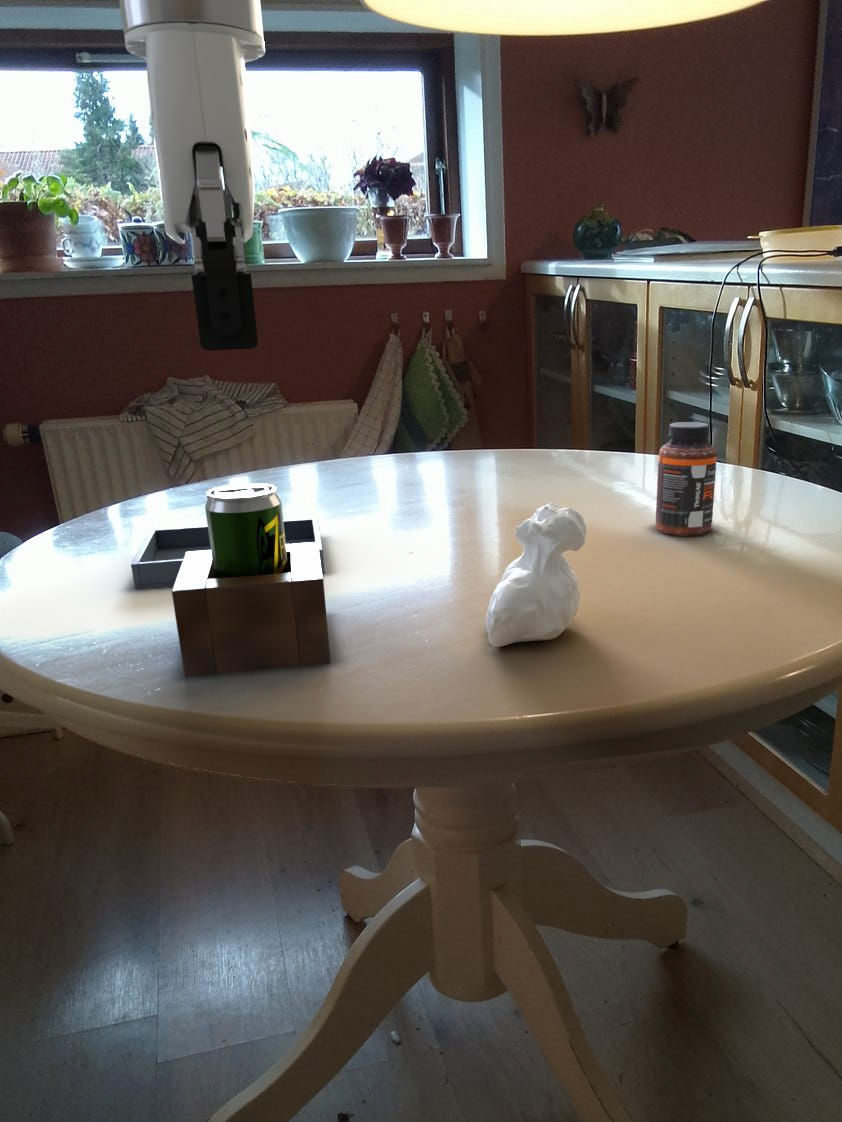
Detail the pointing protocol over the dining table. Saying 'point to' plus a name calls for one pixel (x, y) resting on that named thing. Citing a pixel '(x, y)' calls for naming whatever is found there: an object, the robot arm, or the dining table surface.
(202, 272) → the robot arm
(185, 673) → the can holder
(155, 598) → the dining table surface
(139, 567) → the tray
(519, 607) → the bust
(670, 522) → the supplement bottle
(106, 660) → the dining table surface
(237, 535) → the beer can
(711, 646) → the dining table surface
